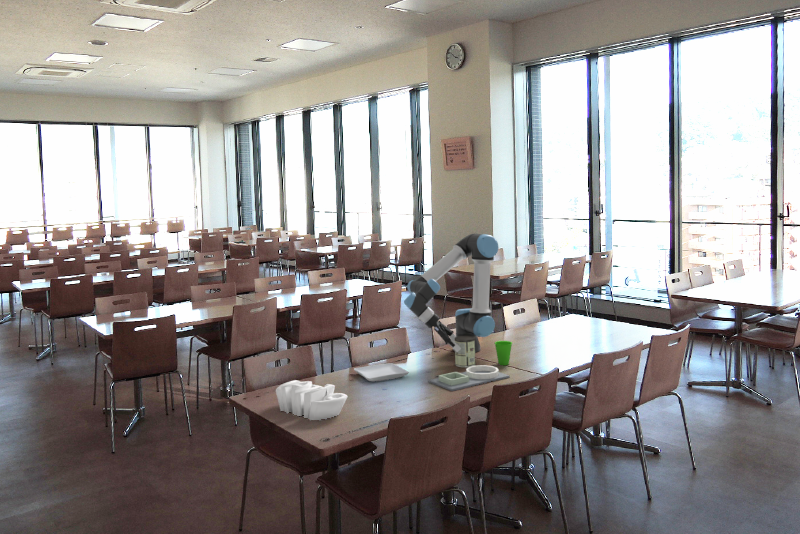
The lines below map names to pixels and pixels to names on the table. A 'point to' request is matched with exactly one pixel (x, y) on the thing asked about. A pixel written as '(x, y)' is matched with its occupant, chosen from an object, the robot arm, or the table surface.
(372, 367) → the salad plate
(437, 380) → the sorting board
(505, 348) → the cup
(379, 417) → the table surface
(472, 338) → the coffee can
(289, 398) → the wavy white extrusion
